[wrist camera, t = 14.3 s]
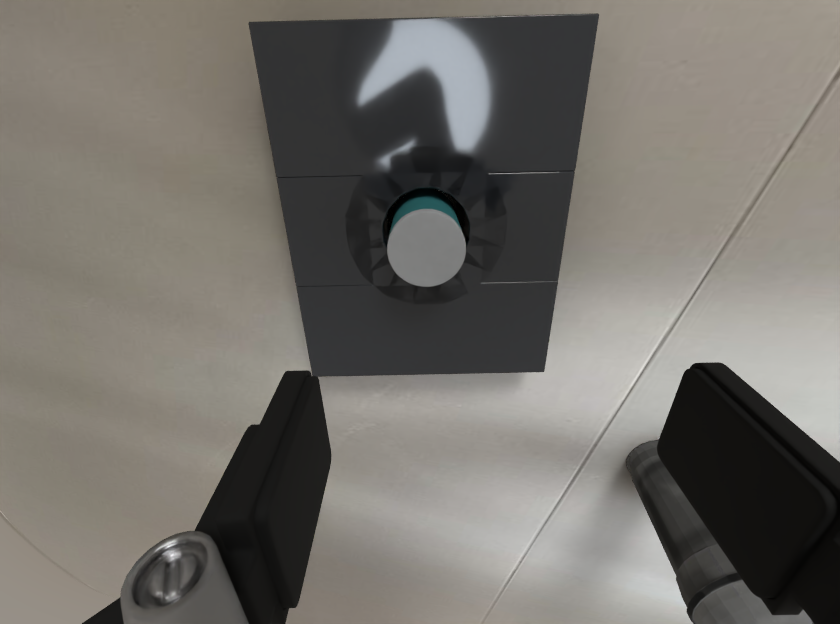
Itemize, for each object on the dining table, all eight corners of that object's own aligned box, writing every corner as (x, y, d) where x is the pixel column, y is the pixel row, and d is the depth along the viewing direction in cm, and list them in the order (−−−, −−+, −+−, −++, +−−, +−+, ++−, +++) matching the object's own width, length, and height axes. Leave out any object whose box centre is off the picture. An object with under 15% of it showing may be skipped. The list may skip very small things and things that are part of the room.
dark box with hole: (269, 32, 21) (247, 21, 18) (576, 25, 21) (599, 13, 18) (321, 352, 30) (312, 377, 27) (533, 348, 30) (544, 372, 27)
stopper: (391, 188, 24) (384, 212, 19) (456, 187, 24) (467, 210, 19) (395, 251, 26) (389, 288, 21) (455, 249, 26) (465, 286, 21)
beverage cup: (636, 421, 33) (885, 781, 16) (711, 437, 34) (1028, 795, 16) (596, 478, 36) (764, 830, 19) (666, 492, 37) (889, 840, 20)
